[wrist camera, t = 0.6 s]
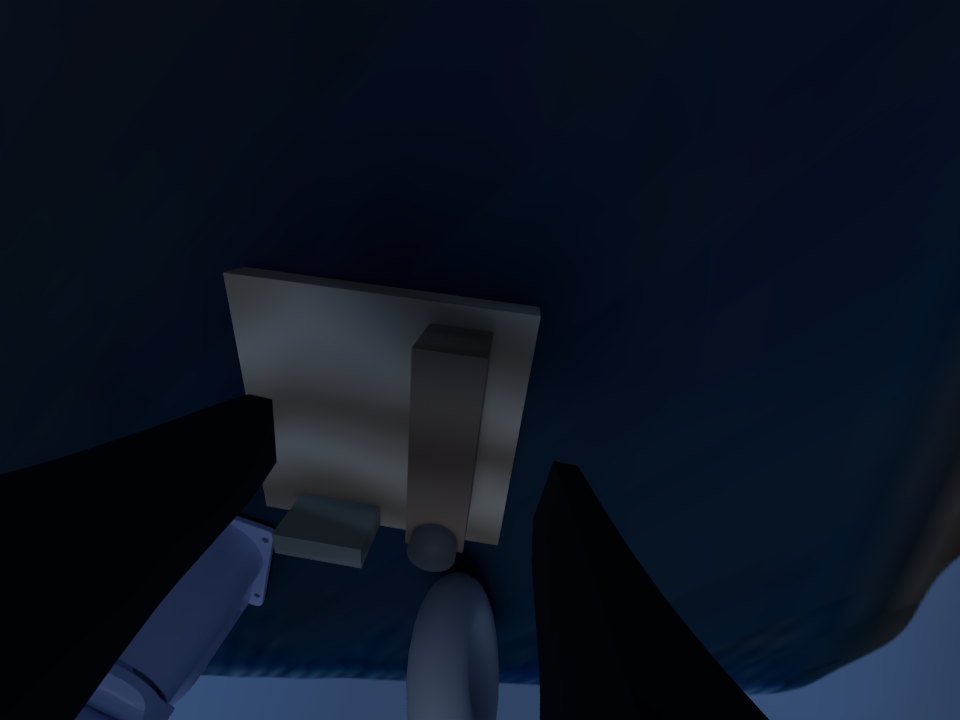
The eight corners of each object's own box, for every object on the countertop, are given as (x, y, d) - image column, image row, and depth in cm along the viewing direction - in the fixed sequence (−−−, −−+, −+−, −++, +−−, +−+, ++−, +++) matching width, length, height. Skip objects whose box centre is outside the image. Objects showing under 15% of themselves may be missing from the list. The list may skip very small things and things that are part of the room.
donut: (425, 541, 26) (372, 731, 16) (473, 535, 25) (444, 732, 16) (465, 629, 29) (439, 824, 20) (507, 626, 29) (500, 828, 19)
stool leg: (469, 516, 22) (458, 576, 18) (419, 507, 22) (400, 566, 18) (493, 332, 17) (486, 367, 13) (429, 323, 17) (405, 356, 13)
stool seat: (499, 525, 24) (494, 592, 20) (280, 488, 25) (233, 546, 21) (539, 307, 18) (544, 340, 14) (245, 266, 19) (166, 287, 14)
